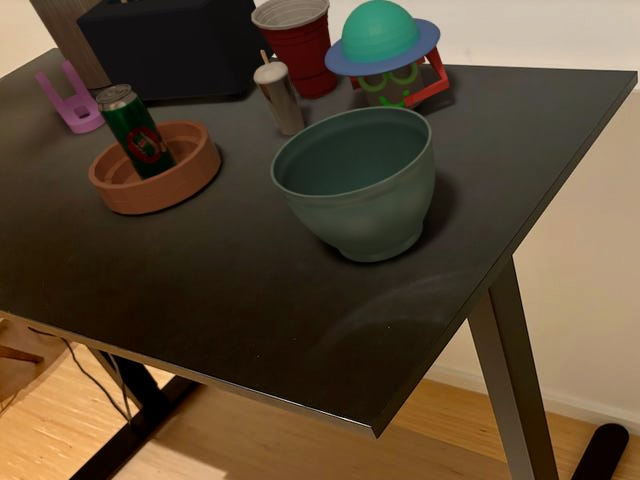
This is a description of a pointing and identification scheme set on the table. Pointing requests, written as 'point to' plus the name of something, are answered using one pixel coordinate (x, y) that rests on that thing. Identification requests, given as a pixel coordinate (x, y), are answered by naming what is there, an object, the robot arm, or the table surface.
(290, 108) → the milkshake
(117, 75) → the speaker
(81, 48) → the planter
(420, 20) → the toy robot
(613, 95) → the table surface
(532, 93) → the table surface
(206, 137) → the terracotta plant saucer
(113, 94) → the soda can
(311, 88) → the plastic cup
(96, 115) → the bracket
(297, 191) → the flower pot
